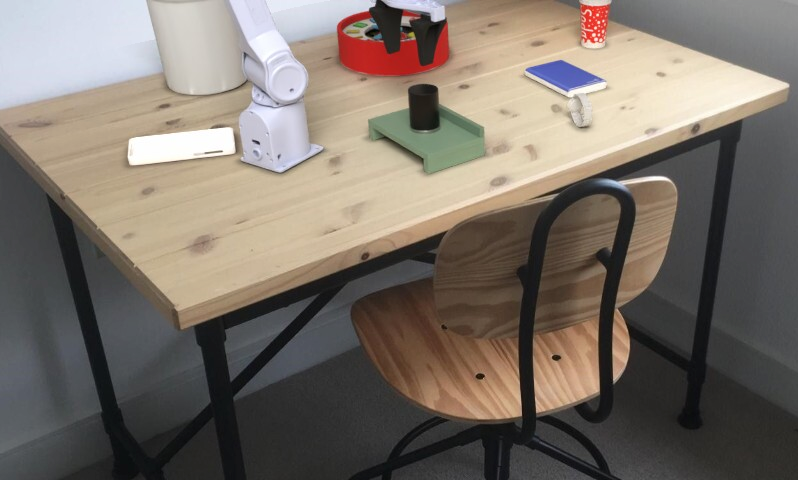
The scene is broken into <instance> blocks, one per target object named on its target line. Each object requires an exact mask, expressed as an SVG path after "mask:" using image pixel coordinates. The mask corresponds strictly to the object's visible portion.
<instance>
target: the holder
mask: <svg viewBox="0 0 798 480" xmlns="http://www.w3.org/2000/svg"><path fill="white" fill-rule="evenodd" d="M439 96H440V95H439V87H438V86H437V85H435V84H431V83H417V84H414V85H411V86H409V87H408V88H407V98H408V108H409V117H410V125H409V127H410V130H411V131H412V132H414V133H418V134H430V133H434V132H437V131H439V130H440V128H441V124H440V116H439V104H440V97H439Z"/></svg>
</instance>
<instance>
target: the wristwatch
mask: <svg viewBox="0 0 798 480" xmlns="http://www.w3.org/2000/svg"><path fill="white" fill-rule="evenodd" d="M566 108H567V110H568V111H569V112H570V115H571V118H572V121H573V123H574V125H575V126H576V127H578V128H582V127H583V128H584V127H588V126H590V125H591V124H592V119H593V107H592V103H591V101H590V98H589V96H588V95H587V93H586V94H585V93H579V94H574V95H573V97H571V98H570V99H569V100H568V102H567V104H566ZM582 109H583V114H582V116H581V110H582Z"/></svg>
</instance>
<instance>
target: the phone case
mask: <svg viewBox="0 0 798 480" xmlns="http://www.w3.org/2000/svg"><path fill="white" fill-rule="evenodd" d="M127 147H128V148H127V160H128V164H129V166H142V165H151V164H152V165H153V164H161V163H168V162H178V161H185V160H186V161H187V160H194V159H202V158H209V157H210V158H212V157H220V156H229V155H234V154H236V153H237V147H236V141H235V133H234V128H233V127H228V126H227V127H219V128H210V129H201V130H191V131H183V132H182V131H181V132H173V133H163V134H154V135H144V136H136V137H131V138H129V139H128V146H127ZM221 151H222V152H221Z"/></svg>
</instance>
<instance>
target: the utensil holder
mask: <svg viewBox="0 0 798 480" xmlns="http://www.w3.org/2000/svg"><path fill="white" fill-rule="evenodd" d="M145 1H146V5H147V10H148V14H149V18H150V22H151V27H152V30H153V34H154V38H155V41H156V46H157V51H158V54H159V59H160V62H161V65H162V69H163V72H164V77H165V81H166V85H167V87H168V88H169V89H170V90H171V91H173V92H174V93H177V94H182V95H187V96H188V95H189V96H208V95H209V96H210V95H216V94H220V93H221V94H222V93H224V92H228V91H231V90H234V89H236V88H238V87H240V86H242V85H243V84H245V83H246V82H247V81H248V79H247V78H246V77H245V75H244V73H243V70H242V54H241V51H240V48H239V46H238V41H239V38H240V36H239V34H238V32H237V30H236V28H235V25H234V23H233V21H232V19H231V16H230V14H229V12H228V10H227V7H226V5H225V3H224V1H223V0H145Z"/></svg>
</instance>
